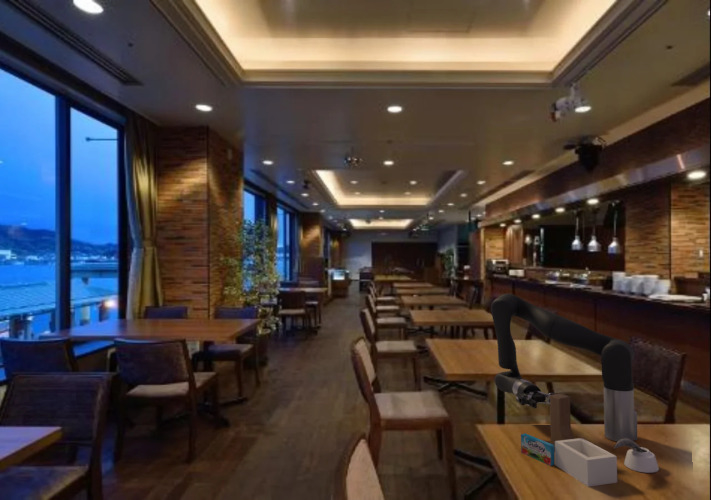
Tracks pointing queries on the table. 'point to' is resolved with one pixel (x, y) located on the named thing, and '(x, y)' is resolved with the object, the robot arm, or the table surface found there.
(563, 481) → the table surface
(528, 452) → the yogurt
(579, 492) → the table surface
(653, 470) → the inkwell
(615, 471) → the base block
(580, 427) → the table surface
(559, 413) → the wooden block
